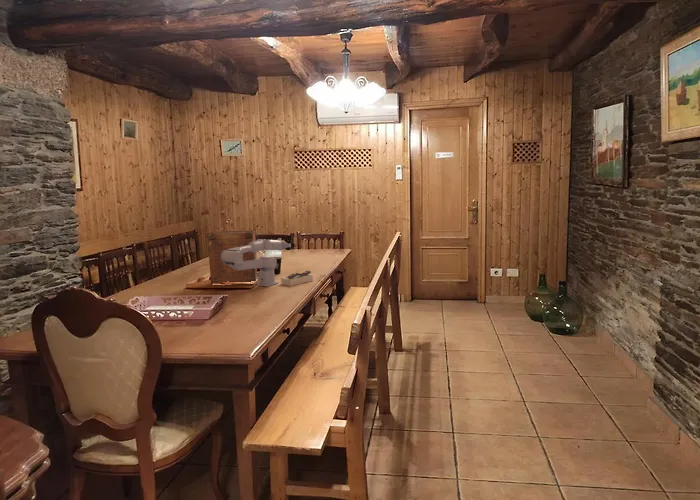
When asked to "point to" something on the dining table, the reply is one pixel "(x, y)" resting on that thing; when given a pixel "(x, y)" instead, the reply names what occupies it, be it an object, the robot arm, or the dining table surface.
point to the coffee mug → (277, 266)
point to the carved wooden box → (224, 242)
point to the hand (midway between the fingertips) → (289, 245)
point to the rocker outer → (306, 272)
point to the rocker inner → (292, 276)
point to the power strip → (296, 280)
